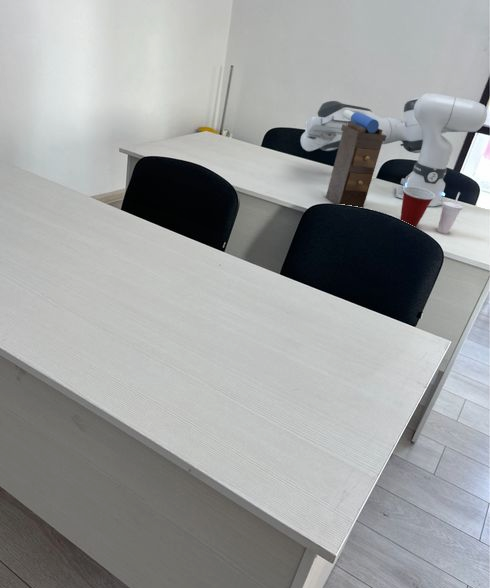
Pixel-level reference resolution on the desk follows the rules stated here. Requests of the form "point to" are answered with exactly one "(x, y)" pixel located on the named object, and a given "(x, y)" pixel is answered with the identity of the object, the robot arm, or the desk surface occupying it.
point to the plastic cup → (415, 204)
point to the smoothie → (448, 215)
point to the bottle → (362, 120)
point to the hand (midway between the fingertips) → (343, 119)
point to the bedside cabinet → (354, 165)
